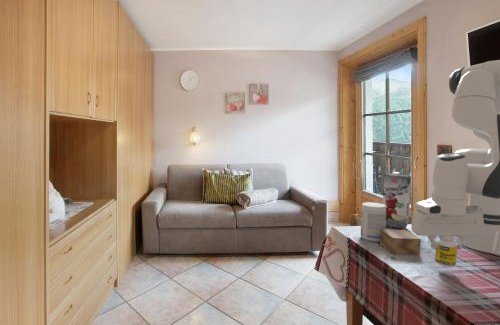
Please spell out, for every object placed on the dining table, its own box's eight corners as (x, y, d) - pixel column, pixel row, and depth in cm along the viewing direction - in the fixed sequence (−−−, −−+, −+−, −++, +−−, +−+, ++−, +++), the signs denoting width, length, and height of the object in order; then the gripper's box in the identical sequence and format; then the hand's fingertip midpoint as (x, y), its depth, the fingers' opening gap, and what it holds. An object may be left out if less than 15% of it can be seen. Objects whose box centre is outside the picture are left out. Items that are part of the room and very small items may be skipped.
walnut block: (405, 244, 109) (406, 230, 109) (419, 255, 99) (420, 239, 99) (380, 243, 110) (381, 229, 110) (391, 253, 100) (392, 238, 100)
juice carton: (386, 222, 139) (389, 170, 137) (409, 228, 131) (413, 172, 129) (379, 226, 133) (382, 171, 131) (403, 231, 125) (406, 173, 123)
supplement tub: (389, 239, 115) (391, 205, 114) (376, 244, 109) (378, 208, 108) (368, 233, 123) (370, 201, 122) (355, 237, 117) (356, 203, 116)
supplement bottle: (437, 266, 85) (439, 235, 84) (432, 258, 90) (434, 230, 89) (458, 268, 83) (460, 237, 82) (452, 261, 88) (454, 231, 87)
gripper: (475, 203, 88) (472, 245, 89) (409, 203, 89) (407, 244, 90) (491, 208, 81) (488, 253, 83) (420, 208, 82) (418, 252, 84)
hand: (445, 248), depth 86 cm, fingers closed on supplement bottle, 5 cm apart
